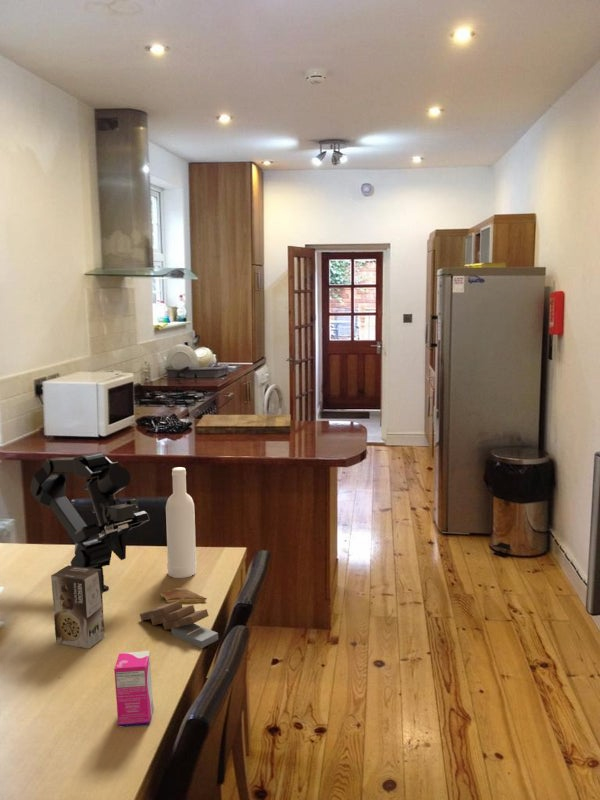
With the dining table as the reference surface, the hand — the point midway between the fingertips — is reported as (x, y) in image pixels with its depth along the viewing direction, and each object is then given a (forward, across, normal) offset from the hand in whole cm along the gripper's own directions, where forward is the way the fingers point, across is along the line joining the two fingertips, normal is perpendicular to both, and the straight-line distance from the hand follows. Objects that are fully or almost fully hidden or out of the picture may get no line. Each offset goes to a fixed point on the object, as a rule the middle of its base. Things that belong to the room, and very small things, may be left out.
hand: (123, 559), depth 175 cm
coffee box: (+14, -17, -1) cm, 23 cm away
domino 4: (+20, 0, -13) cm, 24 cm away
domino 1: (+15, 0, -3) cm, 15 cm away
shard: (+15, +13, 0) cm, 20 cm away
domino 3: (+18, 0, -10) cm, 21 cm away
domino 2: (+16, 0, -7) cm, 18 cm away
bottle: (+8, +23, +11) cm, 27 cm away
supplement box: (+31, -27, -31) cm, 51 cm away
